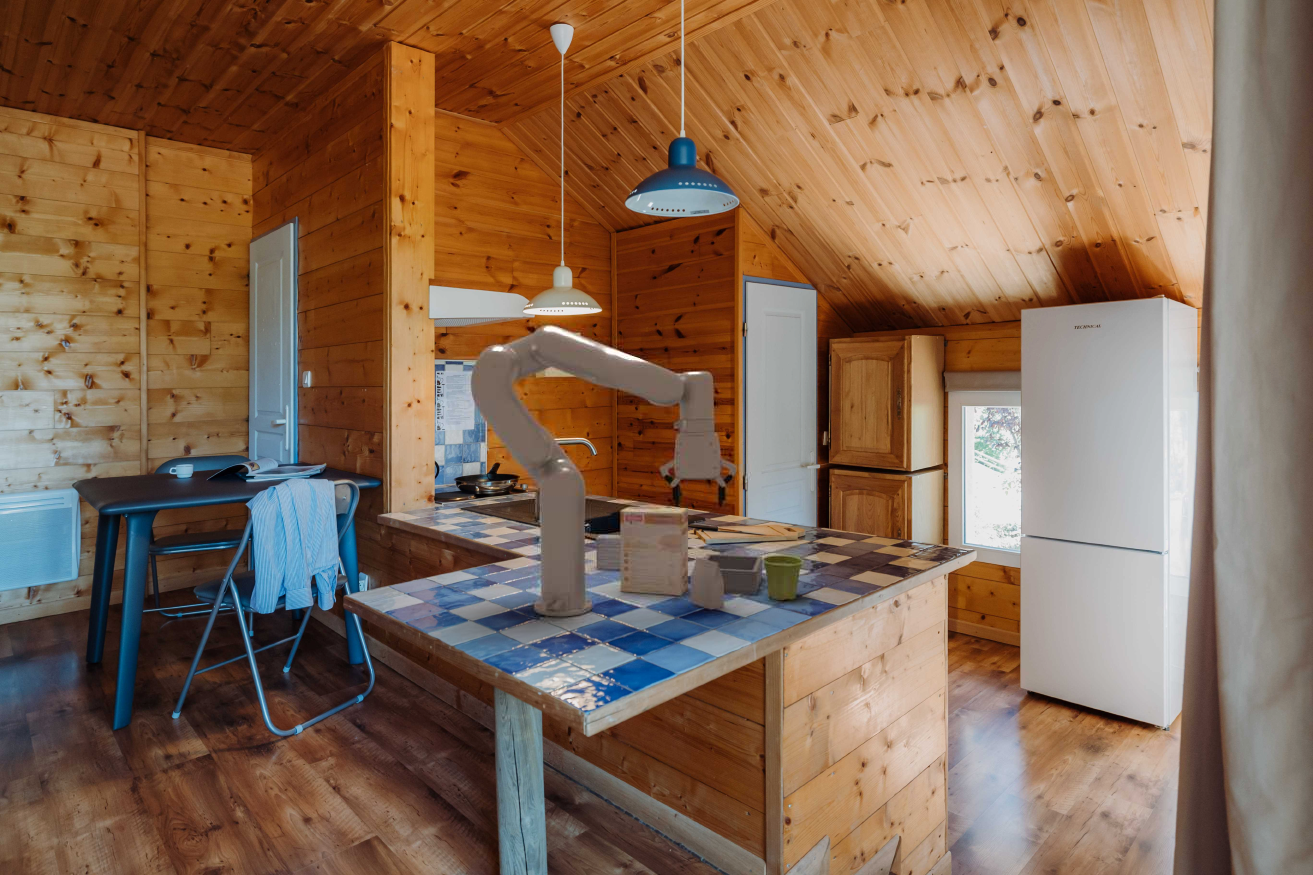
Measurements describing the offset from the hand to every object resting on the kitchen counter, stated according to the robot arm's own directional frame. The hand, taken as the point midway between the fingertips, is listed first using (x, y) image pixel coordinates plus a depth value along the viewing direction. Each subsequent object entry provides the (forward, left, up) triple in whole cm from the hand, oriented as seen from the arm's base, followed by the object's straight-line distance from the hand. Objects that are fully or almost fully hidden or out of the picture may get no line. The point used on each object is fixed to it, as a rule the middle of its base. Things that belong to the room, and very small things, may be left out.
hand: (699, 504), depth 166 cm
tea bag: (-2, -2, -22) cm, 23 cm away
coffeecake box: (+7, +12, -22) cm, 27 cm away
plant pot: (+8, -18, -22) cm, 30 cm away
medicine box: (+26, +28, -22) cm, 45 cm away
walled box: (+16, -5, -22) cm, 28 cm away
